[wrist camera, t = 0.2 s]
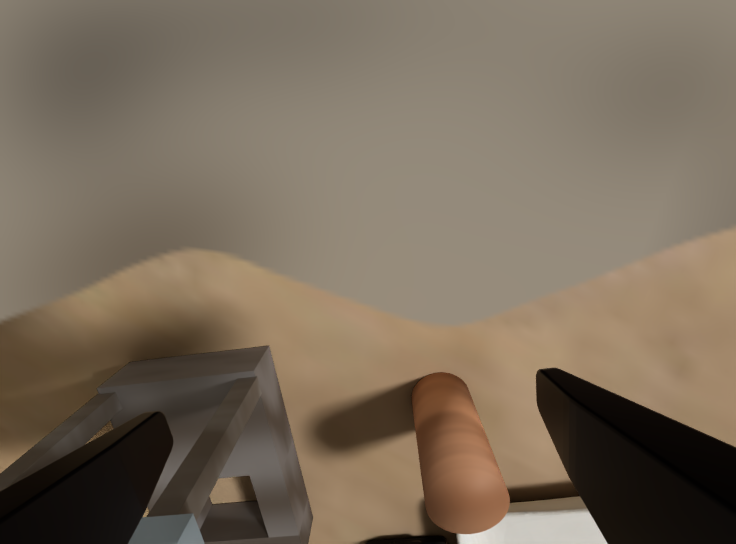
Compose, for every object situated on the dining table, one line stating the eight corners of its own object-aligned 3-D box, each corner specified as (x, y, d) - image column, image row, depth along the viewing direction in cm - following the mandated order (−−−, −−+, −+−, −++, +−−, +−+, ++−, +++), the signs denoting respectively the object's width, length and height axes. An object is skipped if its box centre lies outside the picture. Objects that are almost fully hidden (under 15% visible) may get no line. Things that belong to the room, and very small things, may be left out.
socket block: (325, 516, 28) (281, 795, 16) (182, 528, 29) (35, 800, 17) (283, 344, 24) (177, 543, 11) (116, 363, 25) (-153, 567, 12)
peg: (471, 418, 25) (511, 531, 17) (414, 424, 25) (429, 537, 18) (467, 369, 24) (508, 467, 16) (408, 375, 24) (421, 474, 17)
